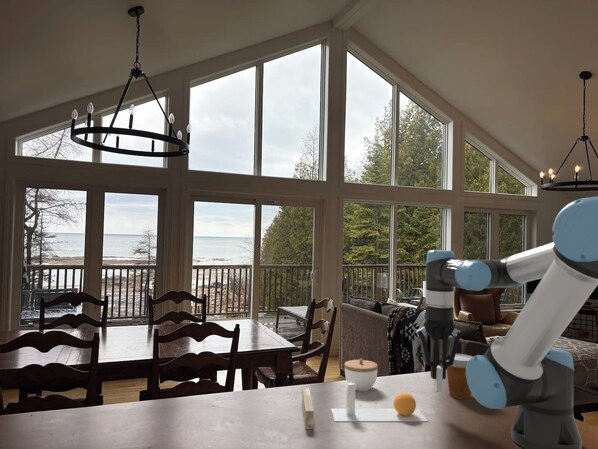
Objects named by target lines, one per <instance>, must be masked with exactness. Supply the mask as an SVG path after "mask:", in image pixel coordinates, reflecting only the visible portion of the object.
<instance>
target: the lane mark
mask: <svg viewBox="0 0 598 449" xmlns="http://www.w3.org/2000/svg"><path fill="white" fill-rule="evenodd" d="M330 410H331V414H332V418H333V420H334V422H336V423H342V422H343V423H345V422H346V423H349V422H352V423H357V422H358V423H360V422H361V423H366V422H367V423H371V422H372V423H373V422H377V423H378V422H379V423H383V422H384V423H385V422H386V423H390V422H391V423H392V422H393V423H396V422H399V423H401V422H402V423H403V422H405V423H409V422H411V423H413V422H414V423H415V422H418V423H420V422H421V423H428V422H429V420H428V419H427V417H425V415H424V414H423V413H422V412H421V410H420V409H419V408H416V409H415V411H414V412H413V413H412V414H411V415H409V416H403V415H400V414H399V413H398V412H397V411H396V410H395V407H394V408H386V407H385V408H382V407H381V408H373V407H372V408H366V407H365V408H363V407H361V408H359V407H358V408H356V407H355V415H354V416H348V415H346V407H345V408H340V407H339V408H330Z"/></svg>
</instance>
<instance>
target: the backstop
mask: <svg viewBox="0 0 598 449" xmlns="http://www.w3.org/2000/svg"><path fill="white" fill-rule="evenodd" d="M310 392H311V391H310V388H309V387H301V407H302V412H303V413H302V414H303V421H304V428H305V430H309V429H310V430H313V429H314V407H313V402H312V398H311V393H310Z"/></svg>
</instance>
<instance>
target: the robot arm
mask: <svg viewBox="0 0 598 449" xmlns="http://www.w3.org/2000/svg"><path fill="white" fill-rule="evenodd" d="M551 231H552V232H553V235H552V236H551V237H552V242H549V243H546V244H544V245H541V246H537V247H534V248H531V249H528V250H525V251H522V252H519V253H516V254H513V255H509V256H507V257H504V258H500V259H461V258H456V257H455V252H454V251H453V250H445V249H444V250H443V249H442V250H441V249H432V250H431V249H430V250H428V251H427V254H426V263H425V303H426V304H427V305H426V306H425V313H424V314H425V317H424V318H425V321H424V323H423V327H421V328H419V329H418V328H416V329H415V334H416V335H417V338H418V339H419V343H420V344H419V345H420V348H421V353H422V360H423V363H425V364H426V365H427V366H429V367H430V377H431V379H433V389H434V391H436V393H443V380H445V379H447V378H446V377H447V366H452V365H453V362H454V358H455V354H457V351H458V350H457V349H458V346H459V342H460V340H461V338H462V336H463V335H464V332H463V331H462V330H459V329H458V328H456V326H455V324H454V310H455V309H454V307H453V306H454V305H455V288H457V289H459V288H460V289H462V290H463V289H464V290H467V291H477V292H479V291H483V290H484V289H493V288H495V289H496V288H497V289H499V288H503V289H505V288H506V289H513V288H518V287H522V286H523V285H524V284H526V283H528V282H532V281H537V280H540V281H539V283H538V285H537V286H536V288H535V289H534V291H533V292H532V294H531V296H529V298H528V300H527V301H526V303H525V304H524V306H523V308H522V309H521V310H520V312H519V314H518V316H517V317H516V318H515V320H514V322H513V324H512V325H511V327H510V328H509V329H508V331H507V333H506V334H505V336H504V337H499V338H496V339H495V340H493V341H492V342H491V344H490V346H489V347H488V349H487V350H486V352H485V353H484V354H482V355H481V354H476V355H474V356H472V358H471V359H470V360H469V361H468V363H467V366H466V378H467V383H468V386H469V389H470V391H471V396H473V397H474V399H475V400H476V401H477V402H478V403H479V404H480V405H481V406H482V407H484V408H488V409H490V410H491V409H493V410H494V409H500V410H502V409H504V408H511V407H517V406H518V407H517V410H516V413H515V417H514V418H513V422H512V423H511V424H512V425H511V428H510V437H511V439H512V441H513V442H514V443H515V444H516V445H518V446H519V447H521V448H524V449H583V440H582V436H581V434H580V430H579V428H578V425H577V422H576V420H575V419H576V418H575V416H574V378H575V376H574V375H575V374H574V372H575V368H574V357H573V355H572V354H571V353H570V352H568V351H567V350H565V349H561V348H558V347H557V348H556V347H553V346H554V345H555V343H556V342H557V341H558V340H559V338H560V336H562V334H563V332H565V330H566V329H567V327H568V326H569V325H570V323H571V322H572V320H573V319H574V318H575V317H576V315H577V314H578V313H579V311H580V310H581V308H582V307H583V306H584V304H585V303H586V301H588V299H589V297H590V296H591V295H592V293H593V292H594V290H595V289H596V288H597V287H598V196H592V197H583V198H578V199H576V200H573V201H572V202H569V203H568V204H567V205H565V206H564V207H563V208H561V210H560V211H559V212H558V214H557V215H556V216H555V219H554V222H553V225H552V229H551ZM426 333H427V334H428V336H429V337H430V338H429V340H430V351H429V346H428V342H427V338H426ZM451 335H452V336H451ZM450 336H451V339H450V343H449V347H448V342H449V340H448V339H449V337H450ZM438 348H439V349H438ZM438 351H439V354H438ZM438 356H439V364H438Z"/></svg>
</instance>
